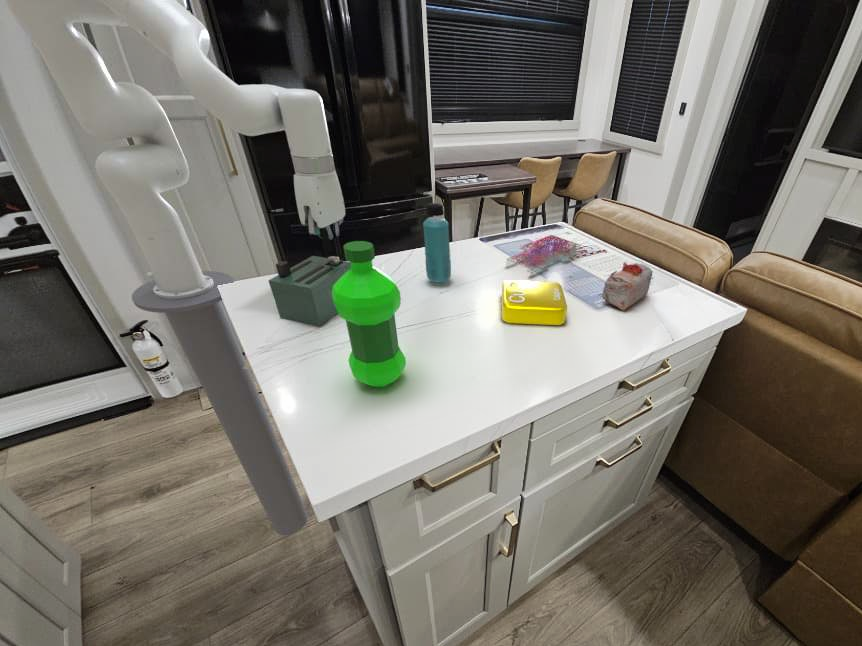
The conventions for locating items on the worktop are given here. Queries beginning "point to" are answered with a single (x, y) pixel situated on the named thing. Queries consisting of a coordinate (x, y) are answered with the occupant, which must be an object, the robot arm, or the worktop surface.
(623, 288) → the food item
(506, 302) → the element tile
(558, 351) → the worktop surface
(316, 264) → the toaster
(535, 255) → the purple mottled irregular slab
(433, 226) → the beverage bottle
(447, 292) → the worktop surface
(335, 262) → the button
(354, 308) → the plastic bottle
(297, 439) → the worktop surface
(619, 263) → the worktop surface
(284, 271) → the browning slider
